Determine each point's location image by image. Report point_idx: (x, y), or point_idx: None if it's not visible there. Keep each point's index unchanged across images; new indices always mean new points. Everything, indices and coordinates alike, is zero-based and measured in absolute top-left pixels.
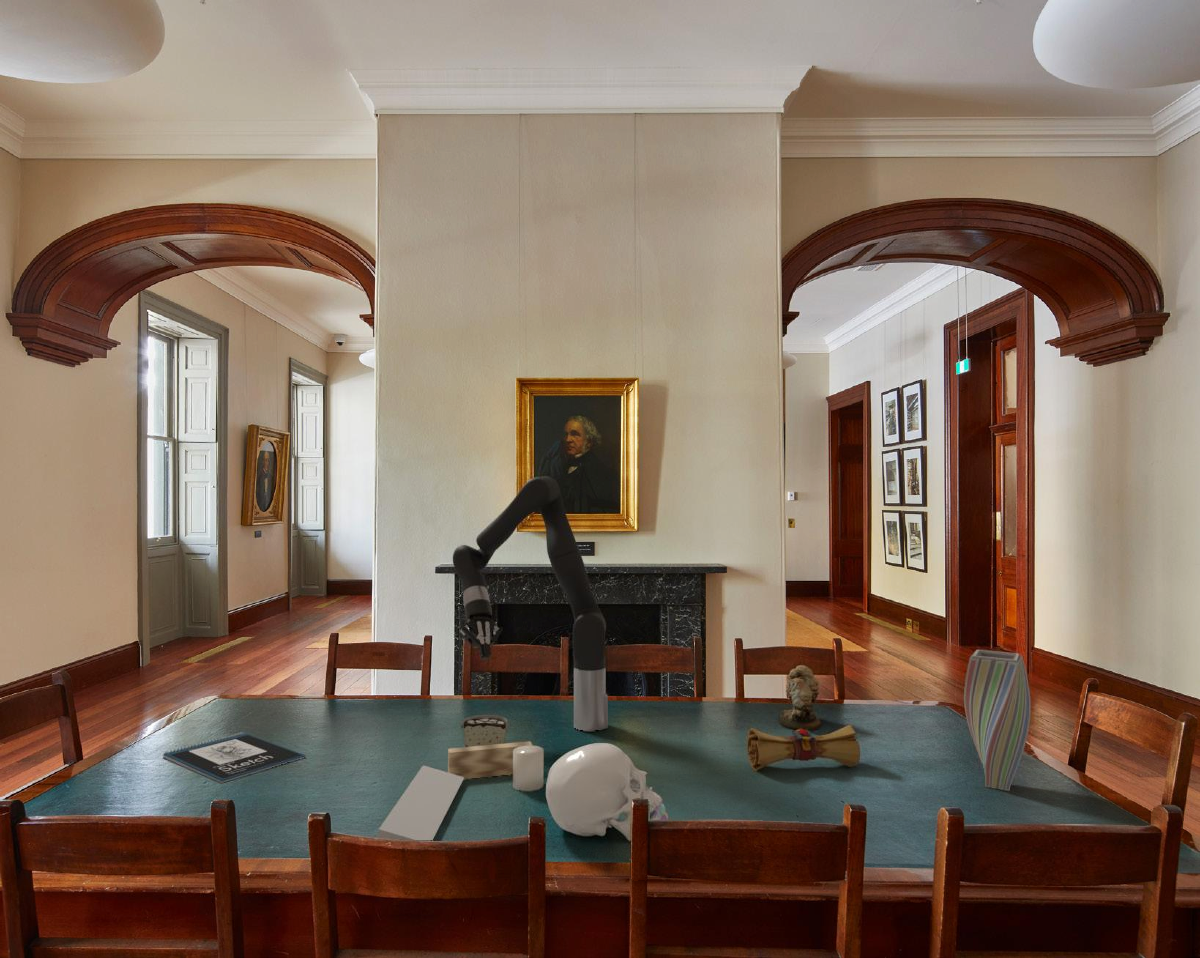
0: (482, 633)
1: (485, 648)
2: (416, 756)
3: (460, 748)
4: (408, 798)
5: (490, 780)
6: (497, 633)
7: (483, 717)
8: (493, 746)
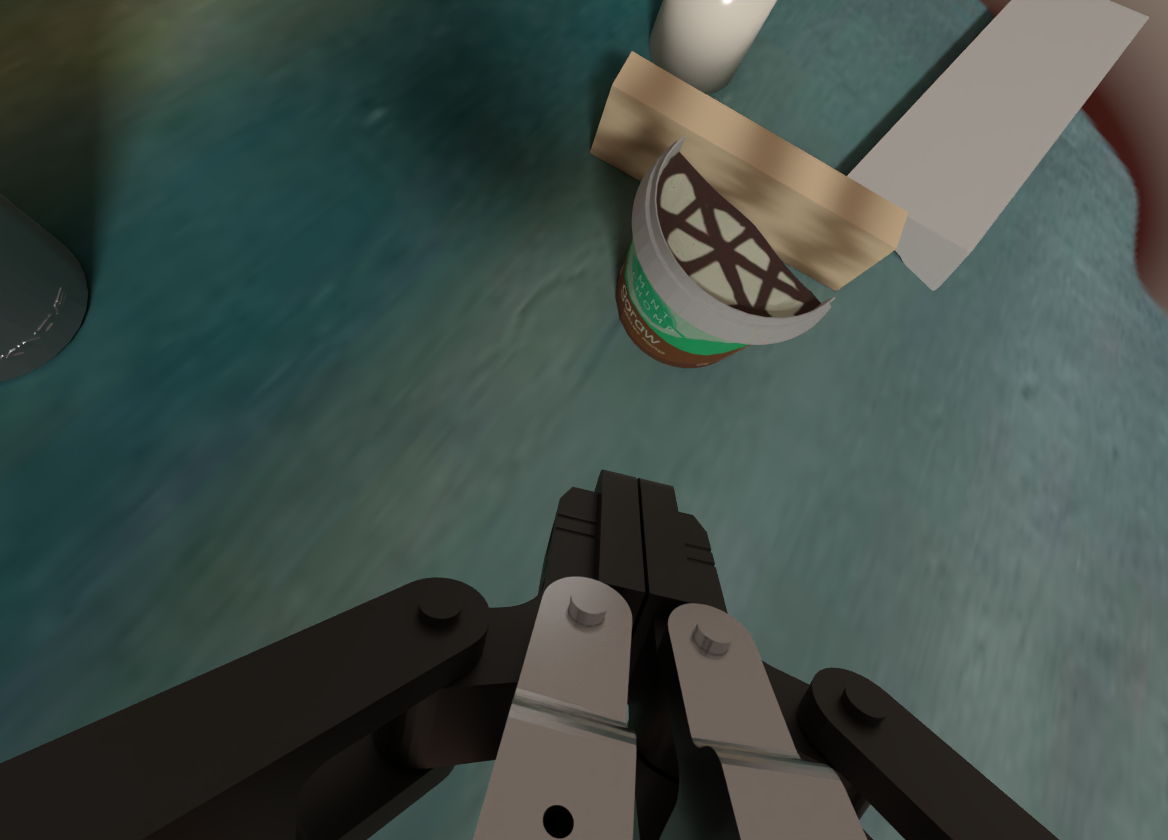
0: (749, 802)
1: (651, 545)
2: (853, 523)
3: (860, 217)
4: (1059, 102)
5: None
6: (164, 772)
7: (709, 301)
8: (755, 146)
